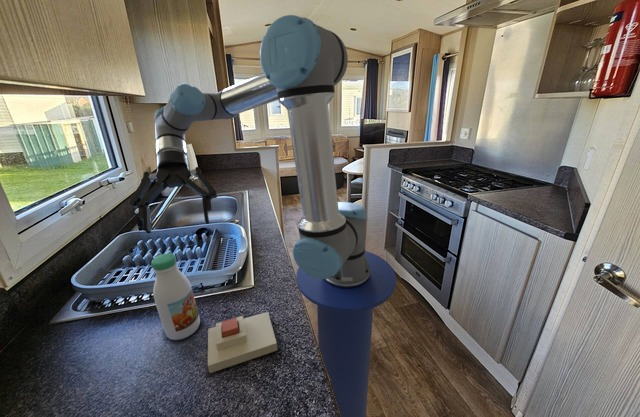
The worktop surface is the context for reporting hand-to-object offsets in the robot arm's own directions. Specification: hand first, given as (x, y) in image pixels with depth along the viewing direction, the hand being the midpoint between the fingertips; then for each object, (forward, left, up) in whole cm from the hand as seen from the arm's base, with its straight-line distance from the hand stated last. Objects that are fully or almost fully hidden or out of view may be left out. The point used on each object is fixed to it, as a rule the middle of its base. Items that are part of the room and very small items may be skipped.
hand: (178, 226), depth 66 cm
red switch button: (-9, +20, -19) cm, 29 cm away
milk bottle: (+2, +11, -22) cm, 25 cm away
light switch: (-11, +21, -22) cm, 32 cm away
